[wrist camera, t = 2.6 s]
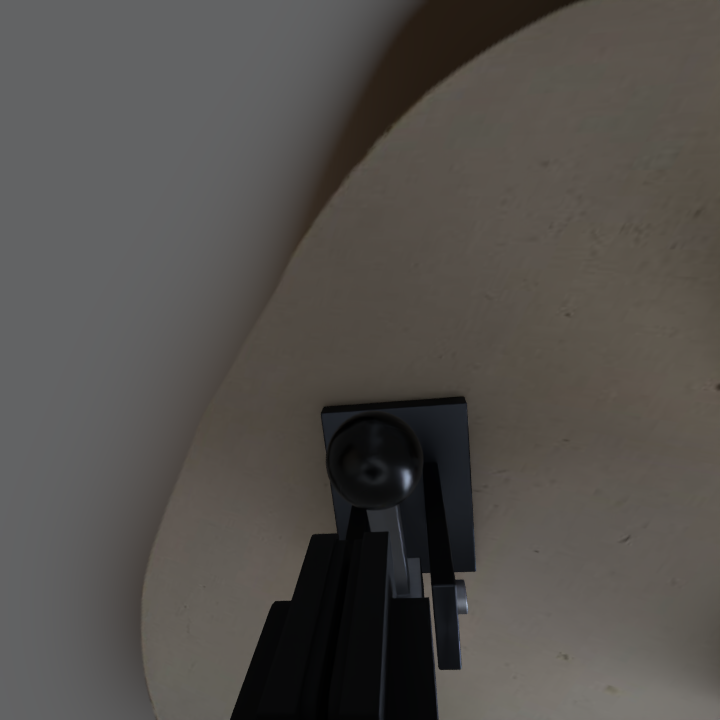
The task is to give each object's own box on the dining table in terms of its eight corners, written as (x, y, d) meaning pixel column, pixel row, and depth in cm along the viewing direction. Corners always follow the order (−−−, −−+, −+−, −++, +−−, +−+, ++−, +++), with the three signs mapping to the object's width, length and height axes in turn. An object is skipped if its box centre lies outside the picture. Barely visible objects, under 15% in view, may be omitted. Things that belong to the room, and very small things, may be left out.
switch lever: (322, 394, 16) (311, 471, 13) (417, 387, 15) (424, 465, 13) (370, 579, 24) (368, 648, 21) (433, 577, 23) (439, 647, 21)
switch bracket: (323, 406, 30) (275, 510, 19) (464, 396, 29) (503, 499, 18) (345, 564, 33) (314, 735, 22) (473, 560, 32) (512, 738, 21)
